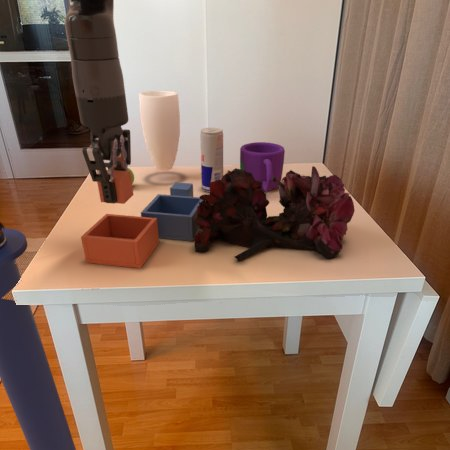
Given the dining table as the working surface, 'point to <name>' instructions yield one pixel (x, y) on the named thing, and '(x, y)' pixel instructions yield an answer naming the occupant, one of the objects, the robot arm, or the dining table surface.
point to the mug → (263, 162)
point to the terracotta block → (120, 186)
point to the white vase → (160, 126)
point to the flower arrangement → (275, 225)
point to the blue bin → (174, 216)
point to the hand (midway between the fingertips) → (116, 196)
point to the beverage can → (211, 156)
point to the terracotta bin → (121, 240)
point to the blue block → (182, 189)
